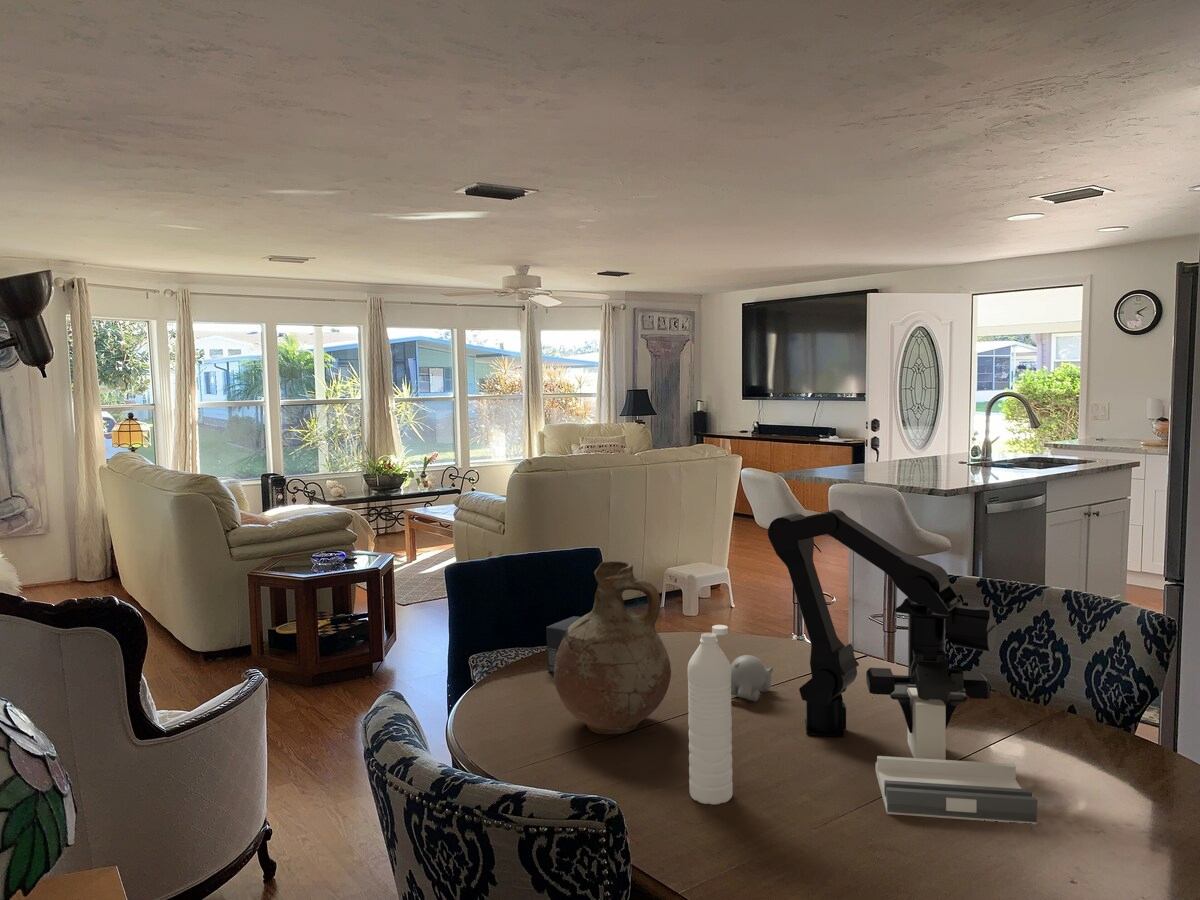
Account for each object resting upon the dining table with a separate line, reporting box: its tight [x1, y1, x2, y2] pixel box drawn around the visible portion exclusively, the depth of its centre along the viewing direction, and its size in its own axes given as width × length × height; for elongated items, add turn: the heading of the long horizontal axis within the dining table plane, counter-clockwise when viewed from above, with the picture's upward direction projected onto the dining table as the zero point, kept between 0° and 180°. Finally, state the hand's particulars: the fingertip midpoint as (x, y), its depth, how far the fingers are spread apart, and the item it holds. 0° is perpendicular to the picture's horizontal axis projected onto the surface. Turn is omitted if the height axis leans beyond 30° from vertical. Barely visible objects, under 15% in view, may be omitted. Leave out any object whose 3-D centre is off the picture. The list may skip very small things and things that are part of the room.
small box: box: [545, 615, 582, 674], centre depth 192 cm, size 11×6×10 cm, turn 145°
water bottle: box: [687, 624, 734, 805], centre depth 131 cm, size 9×6×25 cm
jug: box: [553, 560, 672, 735], centre depth 158 cm, size 22×22×30 cm
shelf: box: [875, 755, 1038, 825], centre depth 129 cm, size 20×14×4 cm
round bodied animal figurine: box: [730, 654, 774, 702], centre depth 172 cm, size 7×12×8 cm, turn 130°
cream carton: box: [907, 688, 947, 760], centre depth 143 cm, size 5×9×10 cm, turn 169°
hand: (926, 733), depth 143 cm, fingers closed on cream carton, 5 cm apart
